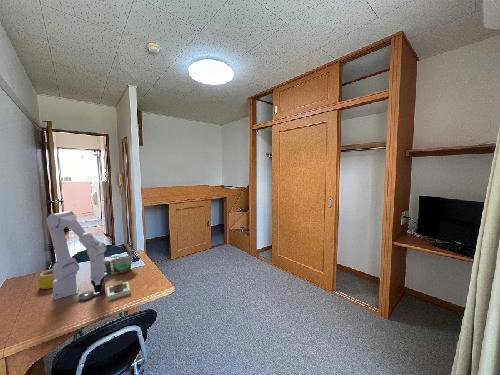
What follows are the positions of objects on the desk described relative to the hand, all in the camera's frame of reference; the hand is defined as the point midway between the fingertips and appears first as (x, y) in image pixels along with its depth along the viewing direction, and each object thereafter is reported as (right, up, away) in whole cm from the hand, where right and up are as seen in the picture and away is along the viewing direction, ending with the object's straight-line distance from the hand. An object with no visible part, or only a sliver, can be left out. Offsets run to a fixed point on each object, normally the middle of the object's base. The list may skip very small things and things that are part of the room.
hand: (97, 292), depth 113 cm
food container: (-1, 0, +25) cm, 25 cm away
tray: (+9, -2, +3) cm, 10 cm away
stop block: (+9, -1, +3) cm, 10 cm away
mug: (-33, -2, +11) cm, 35 cm away
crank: (-3, -2, 0) cm, 3 cm away
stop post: (-3, -2, +3) cm, 5 cm away
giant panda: (-11, 0, +24) cm, 26 cm away
